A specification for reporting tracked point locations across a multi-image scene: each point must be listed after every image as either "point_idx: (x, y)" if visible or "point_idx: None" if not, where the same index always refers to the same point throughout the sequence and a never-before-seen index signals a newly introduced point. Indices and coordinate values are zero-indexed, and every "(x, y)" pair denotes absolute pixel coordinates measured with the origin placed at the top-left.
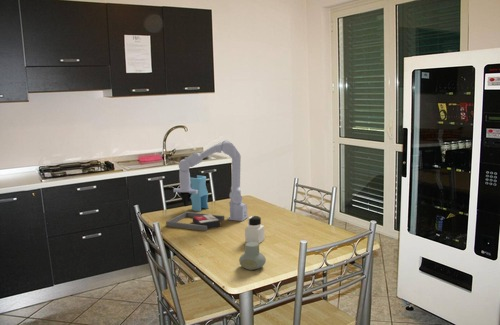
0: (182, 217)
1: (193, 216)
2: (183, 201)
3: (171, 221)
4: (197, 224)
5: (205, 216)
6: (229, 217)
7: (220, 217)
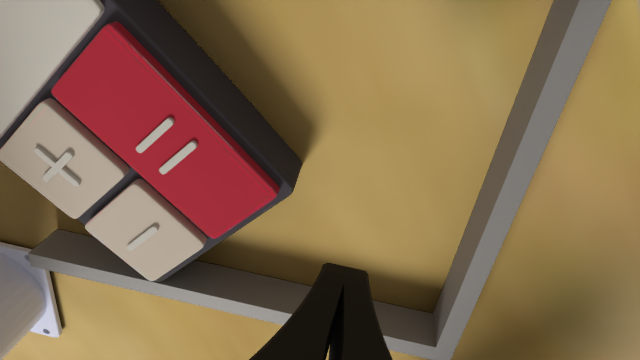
0: (457, 263)
1: None
2: (367, 328)
3: (543, 65)
4: (159, 19)
5: (146, 207)
6: (43, 284)
7: (67, 250)
